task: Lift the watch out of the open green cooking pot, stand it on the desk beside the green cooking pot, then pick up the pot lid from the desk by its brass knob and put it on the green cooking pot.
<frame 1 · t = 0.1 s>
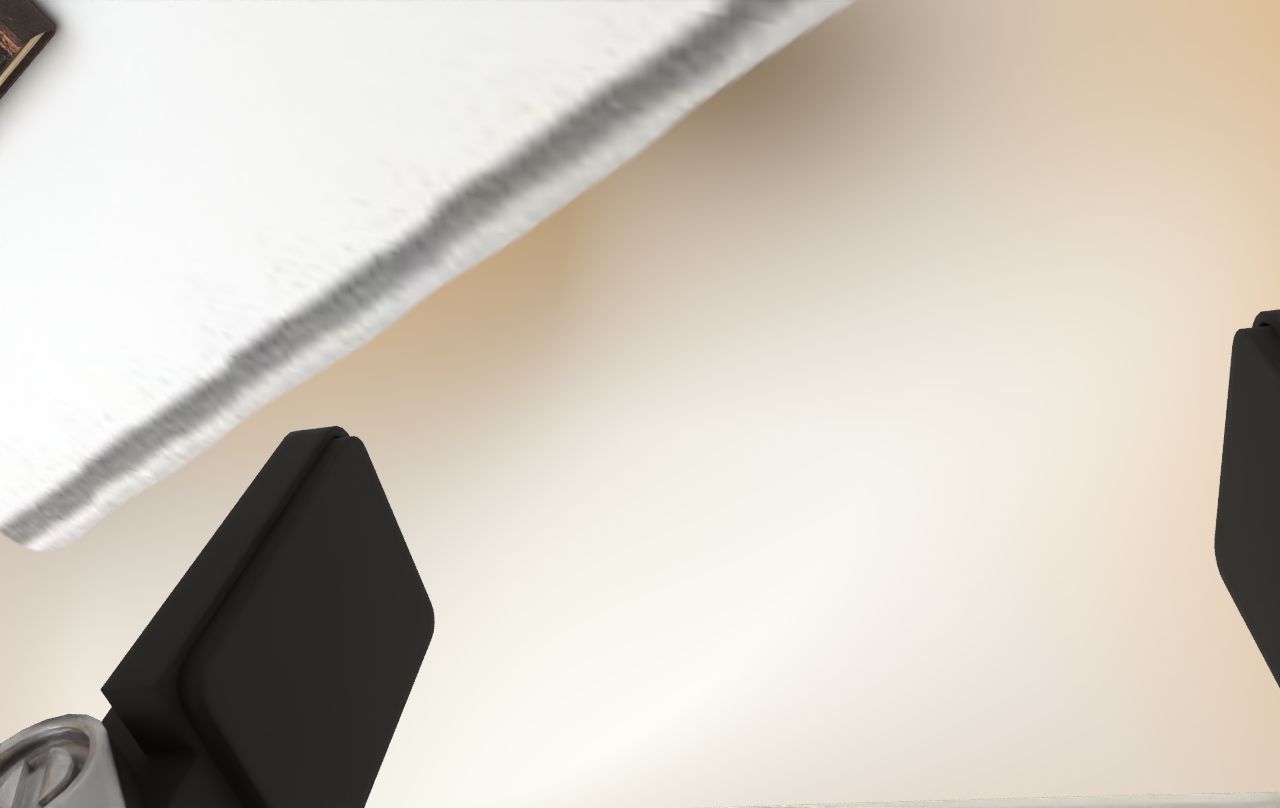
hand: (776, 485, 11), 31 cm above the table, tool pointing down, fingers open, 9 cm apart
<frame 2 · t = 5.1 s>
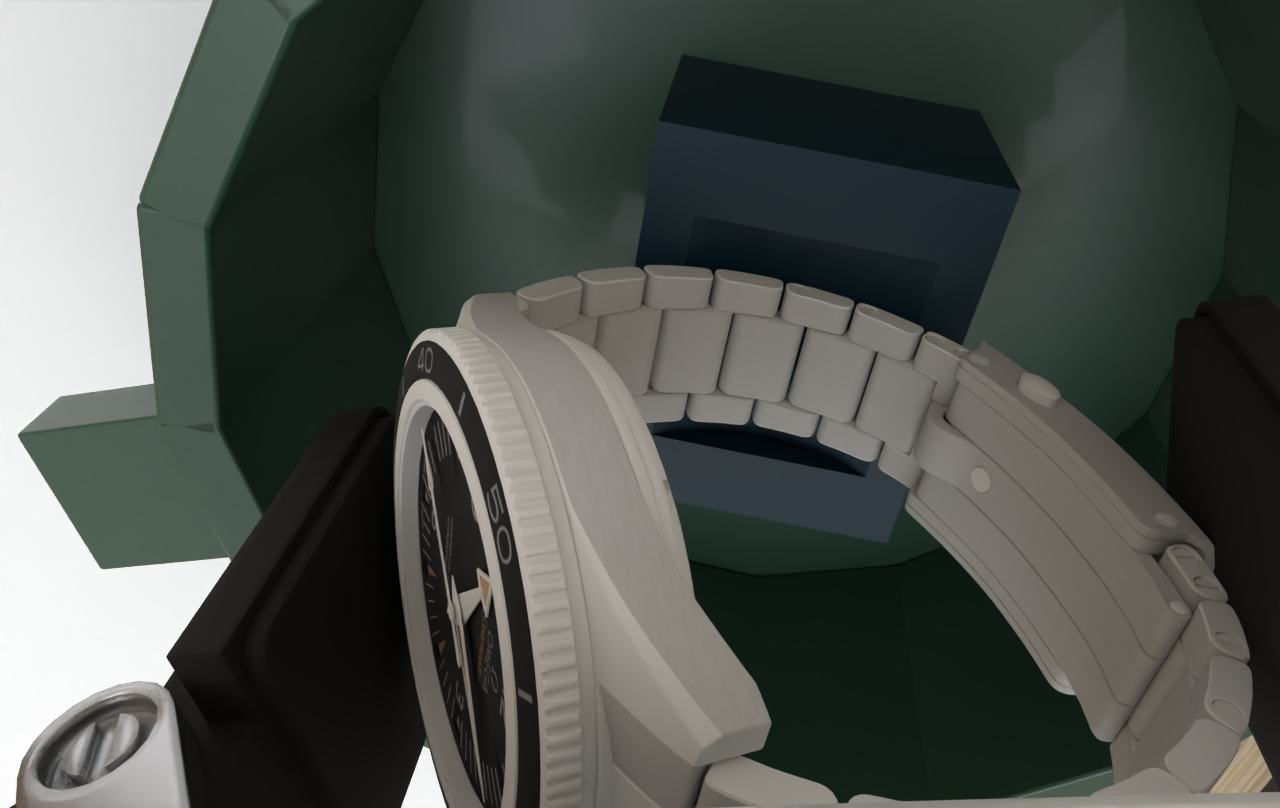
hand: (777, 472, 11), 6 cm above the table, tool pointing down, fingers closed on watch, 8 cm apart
watch: (779, 253, 16), resting on green cooking pot, touching gripper
green cooking pot: (779, 247, 17), on the table
when the fingers open (6 cm above the table, at t = 12.3 s): watch stays where it is, on the table.
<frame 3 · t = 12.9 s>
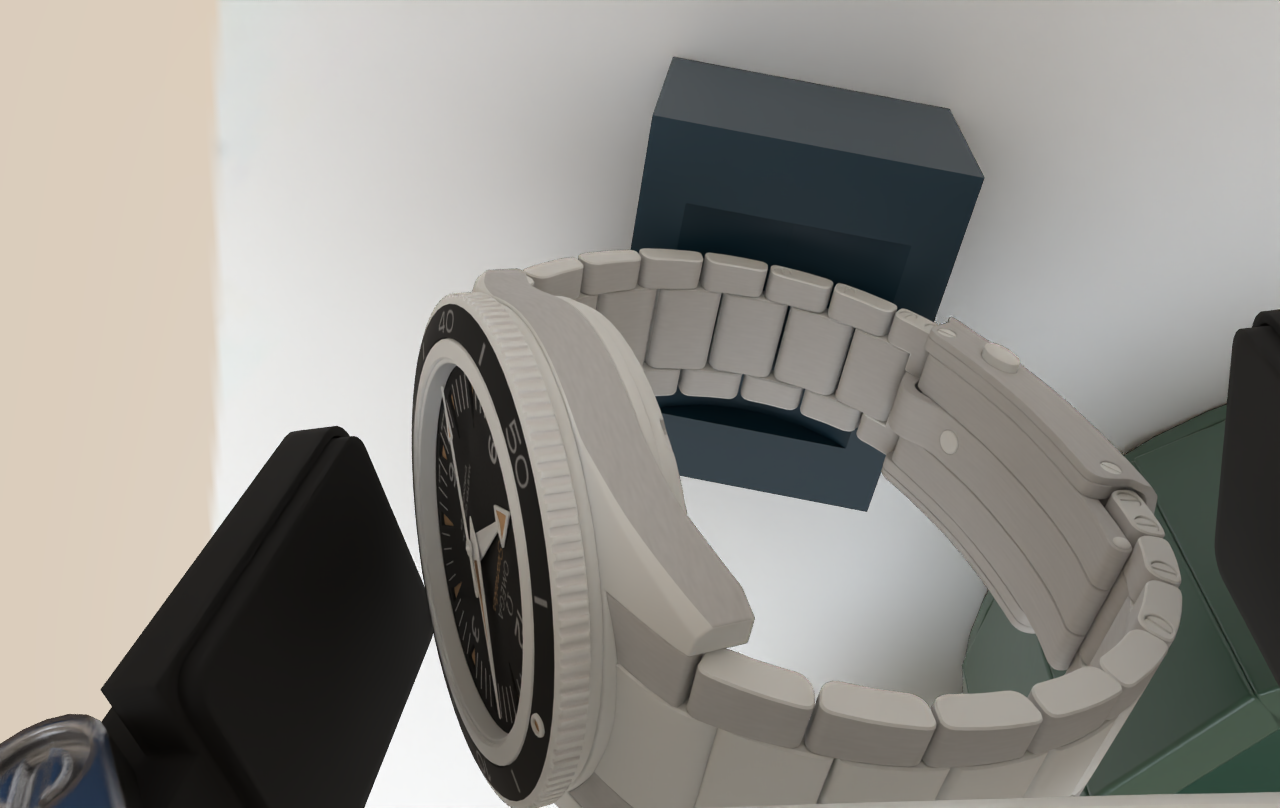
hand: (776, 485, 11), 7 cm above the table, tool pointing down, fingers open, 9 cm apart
watch: (764, 243, 17), on the table
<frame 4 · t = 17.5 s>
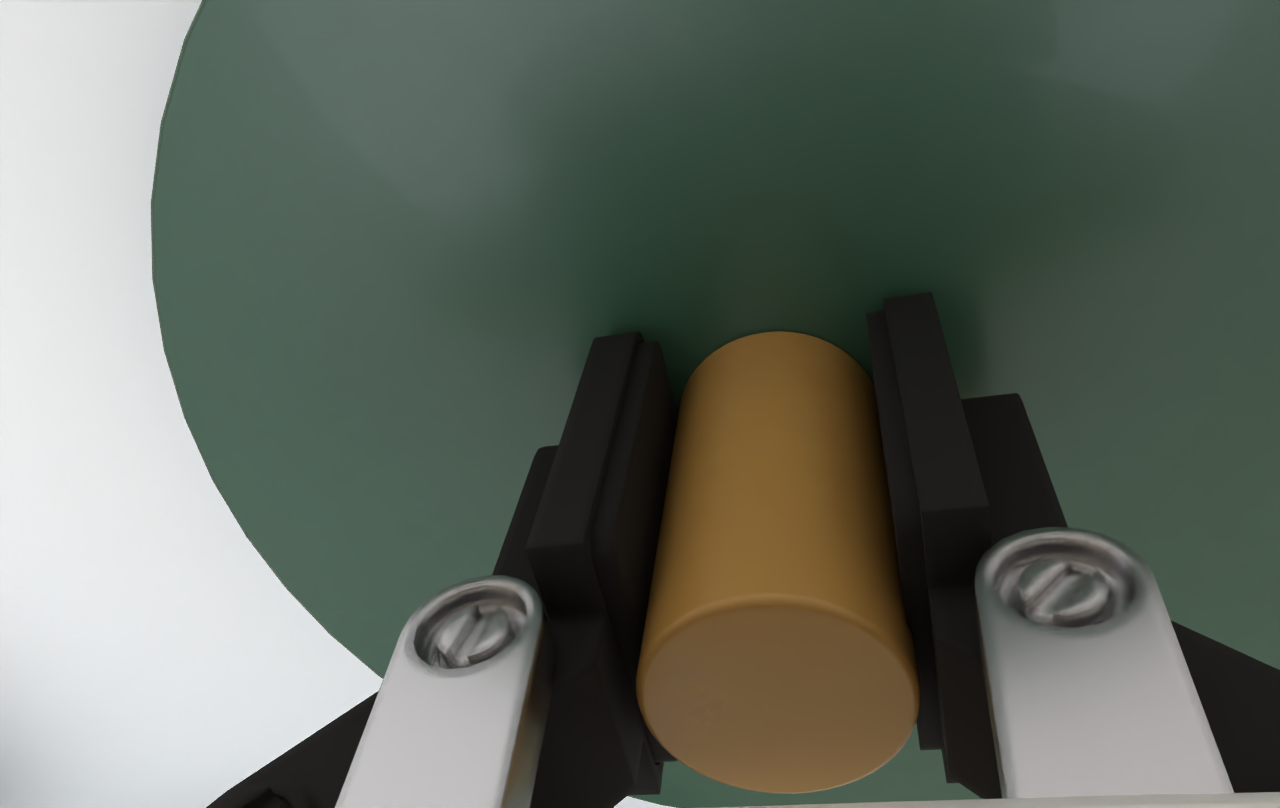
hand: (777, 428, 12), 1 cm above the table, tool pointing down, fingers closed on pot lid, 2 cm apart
pot lid: (778, 390, 13), point 1 cm above the table, touching gripper
when the fingers open (7 cm above the table, at t = 24.1 s): pot lid stays where it is, resting on green cooking pot.
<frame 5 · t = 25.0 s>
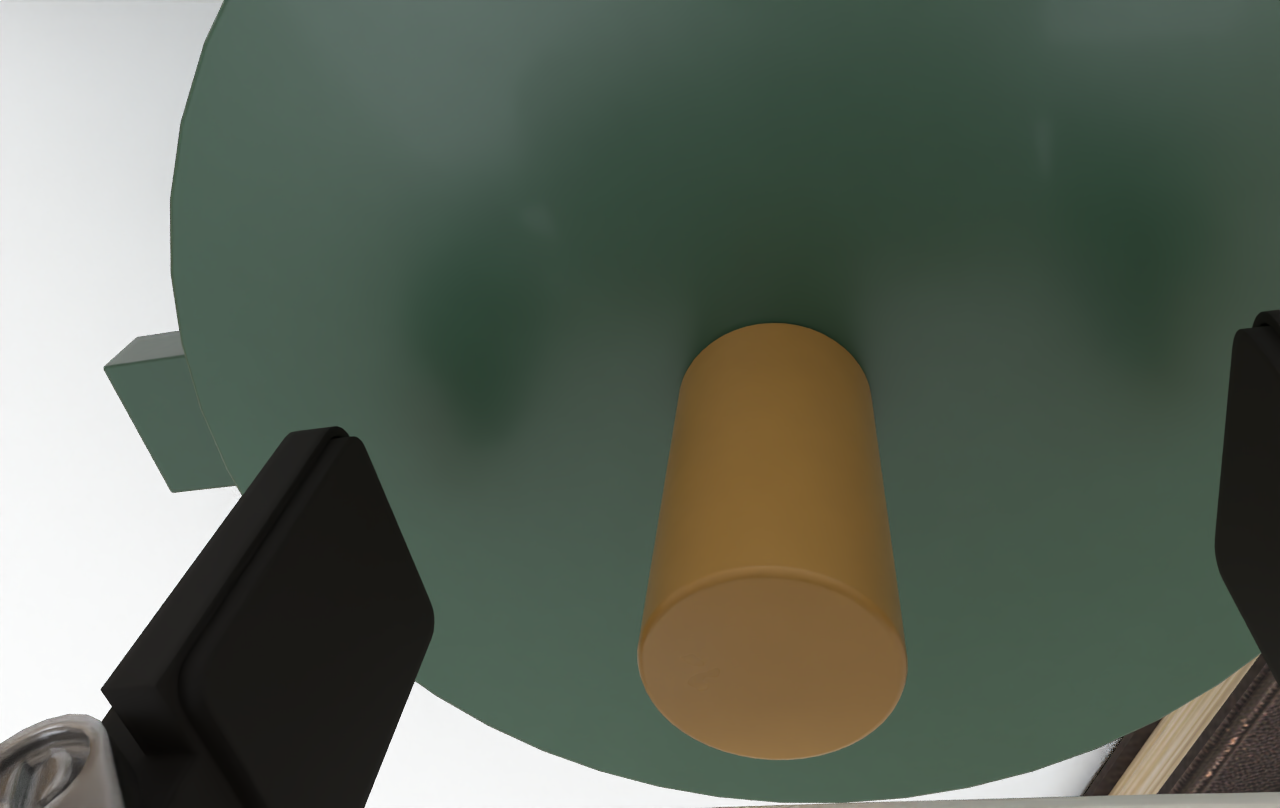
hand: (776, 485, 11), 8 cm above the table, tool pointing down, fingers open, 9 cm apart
green cooking pot: (776, 209, 18), on the table
pot lid: (774, 380, 13), point 6 cm above the table, touching green cooking pot
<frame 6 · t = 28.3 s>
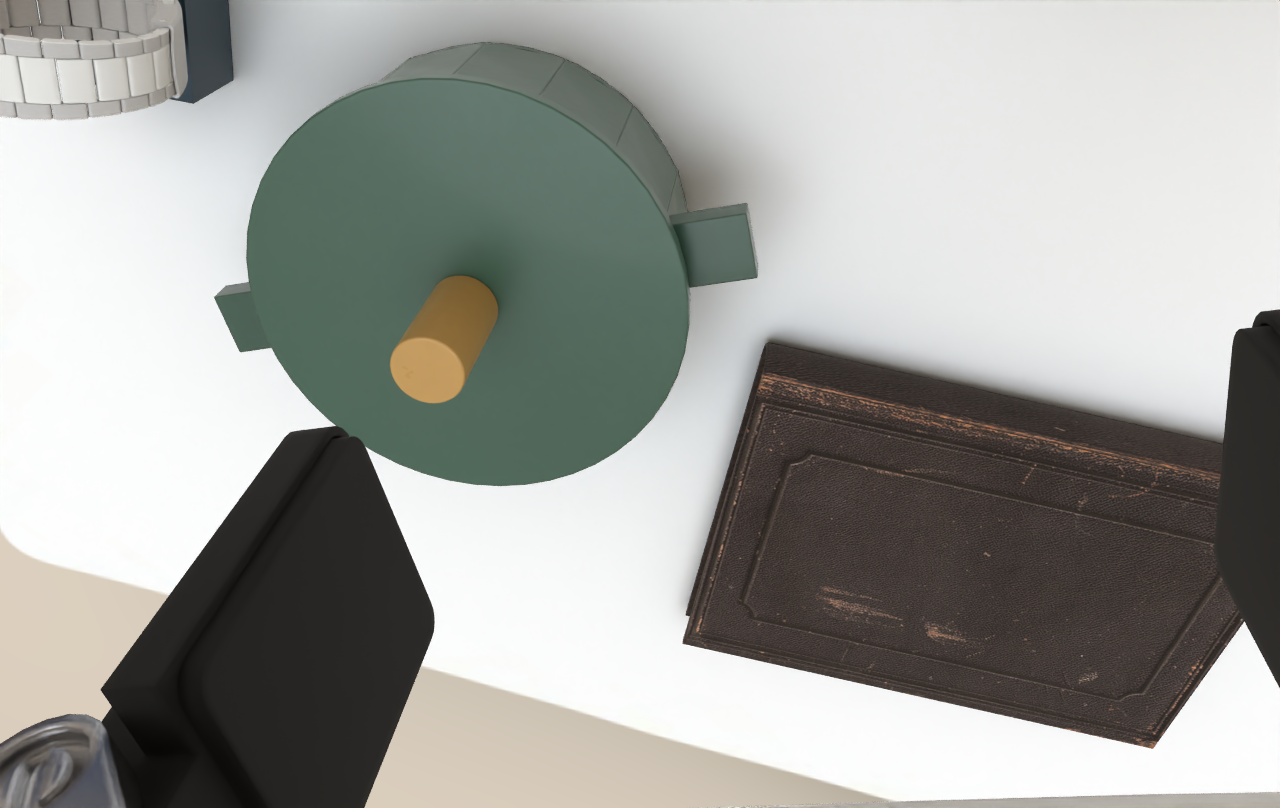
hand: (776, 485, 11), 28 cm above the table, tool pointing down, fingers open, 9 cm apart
hardcover book: (970, 538, 47), on the table
green cooking pot: (507, 231, 41), on the table
pot lid: (469, 298, 36), point 6 cm above the table, touching green cooking pot
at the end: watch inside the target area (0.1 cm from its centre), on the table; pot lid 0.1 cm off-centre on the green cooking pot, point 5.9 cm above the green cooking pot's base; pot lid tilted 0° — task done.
